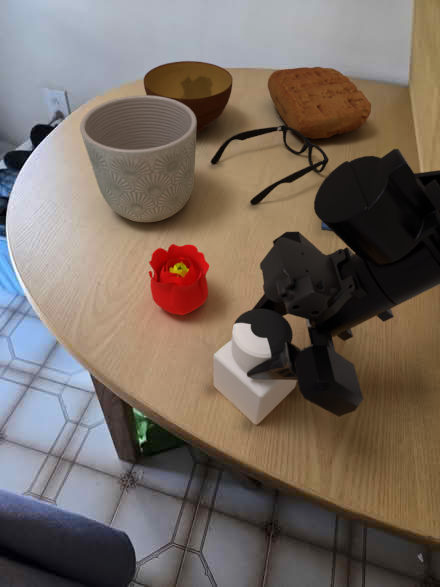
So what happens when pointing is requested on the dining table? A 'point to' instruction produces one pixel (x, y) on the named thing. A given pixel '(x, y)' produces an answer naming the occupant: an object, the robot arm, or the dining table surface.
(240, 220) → the dining table surface
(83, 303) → the dining table surface
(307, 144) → the glasses
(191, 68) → the bowl
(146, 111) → the planter
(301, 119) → the clay tablet
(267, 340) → the medicine bottle
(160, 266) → the flower
